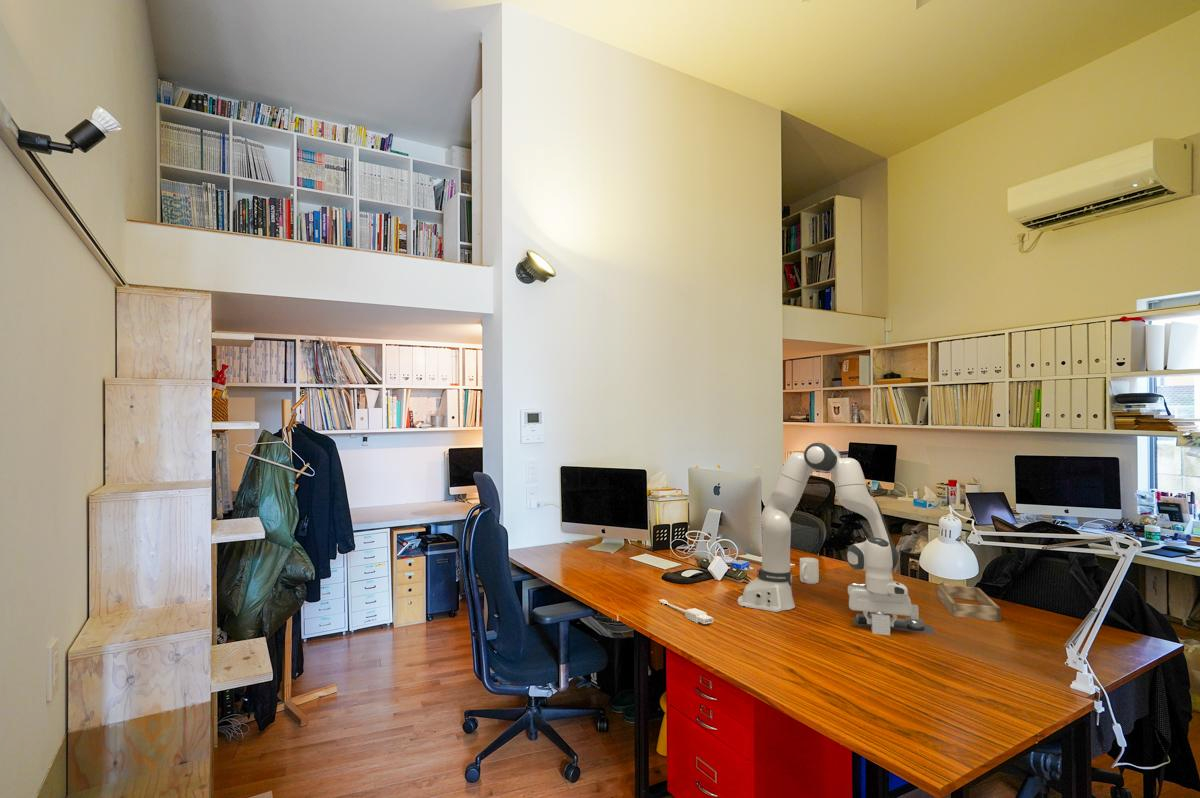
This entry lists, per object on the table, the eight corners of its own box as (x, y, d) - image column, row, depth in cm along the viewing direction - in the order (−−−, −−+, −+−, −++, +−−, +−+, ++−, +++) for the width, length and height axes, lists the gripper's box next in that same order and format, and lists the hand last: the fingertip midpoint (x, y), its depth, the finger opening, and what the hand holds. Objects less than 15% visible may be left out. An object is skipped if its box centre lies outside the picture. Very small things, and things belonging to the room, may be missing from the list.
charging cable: (664, 603, 237) (664, 595, 237) (714, 624, 209) (714, 615, 209) (654, 605, 235) (653, 597, 235) (703, 626, 206) (703, 617, 207)
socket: (872, 634, 199) (872, 612, 199) (870, 629, 204) (870, 607, 204) (890, 636, 197) (889, 614, 197) (888, 631, 202) (887, 609, 202)
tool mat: (854, 626, 207) (854, 625, 207) (852, 618, 215) (852, 617, 215) (936, 635, 198) (936, 633, 198) (930, 626, 206) (930, 625, 206)
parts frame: (953, 616, 217) (953, 603, 217) (937, 596, 244) (936, 584, 244) (1001, 621, 212) (1000, 607, 212) (979, 599, 238) (978, 587, 238)
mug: (810, 586, 258) (809, 563, 258) (793, 583, 264) (792, 560, 264) (821, 581, 266) (821, 559, 267) (805, 578, 272) (804, 556, 273)
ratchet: (857, 624, 207) (857, 602, 208) (856, 619, 213) (855, 597, 213) (925, 631, 200) (925, 608, 200) (922, 626, 206) (921, 603, 206)
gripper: (847, 585, 202) (848, 624, 201) (912, 590, 195) (913, 631, 194) (846, 580, 208) (847, 618, 207) (909, 585, 201) (910, 625, 200)
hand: (880, 625), depth 201 cm, fingers closed on socket, 6 cm apart
